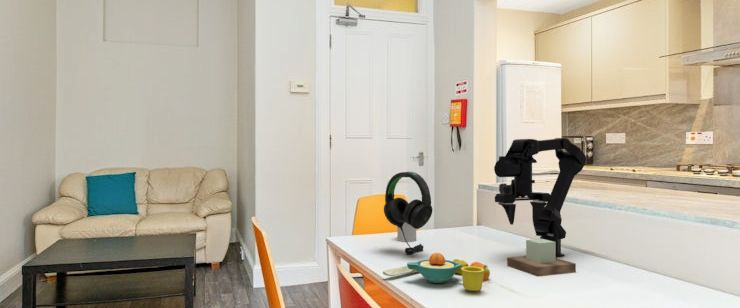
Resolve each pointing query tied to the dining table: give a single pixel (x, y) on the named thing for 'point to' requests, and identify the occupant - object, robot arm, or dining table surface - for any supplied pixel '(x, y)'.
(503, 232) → the dining table surface
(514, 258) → the walnut plinth
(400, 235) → the grey block
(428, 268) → the toy juicer set
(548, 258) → the sage block
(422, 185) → the headset
